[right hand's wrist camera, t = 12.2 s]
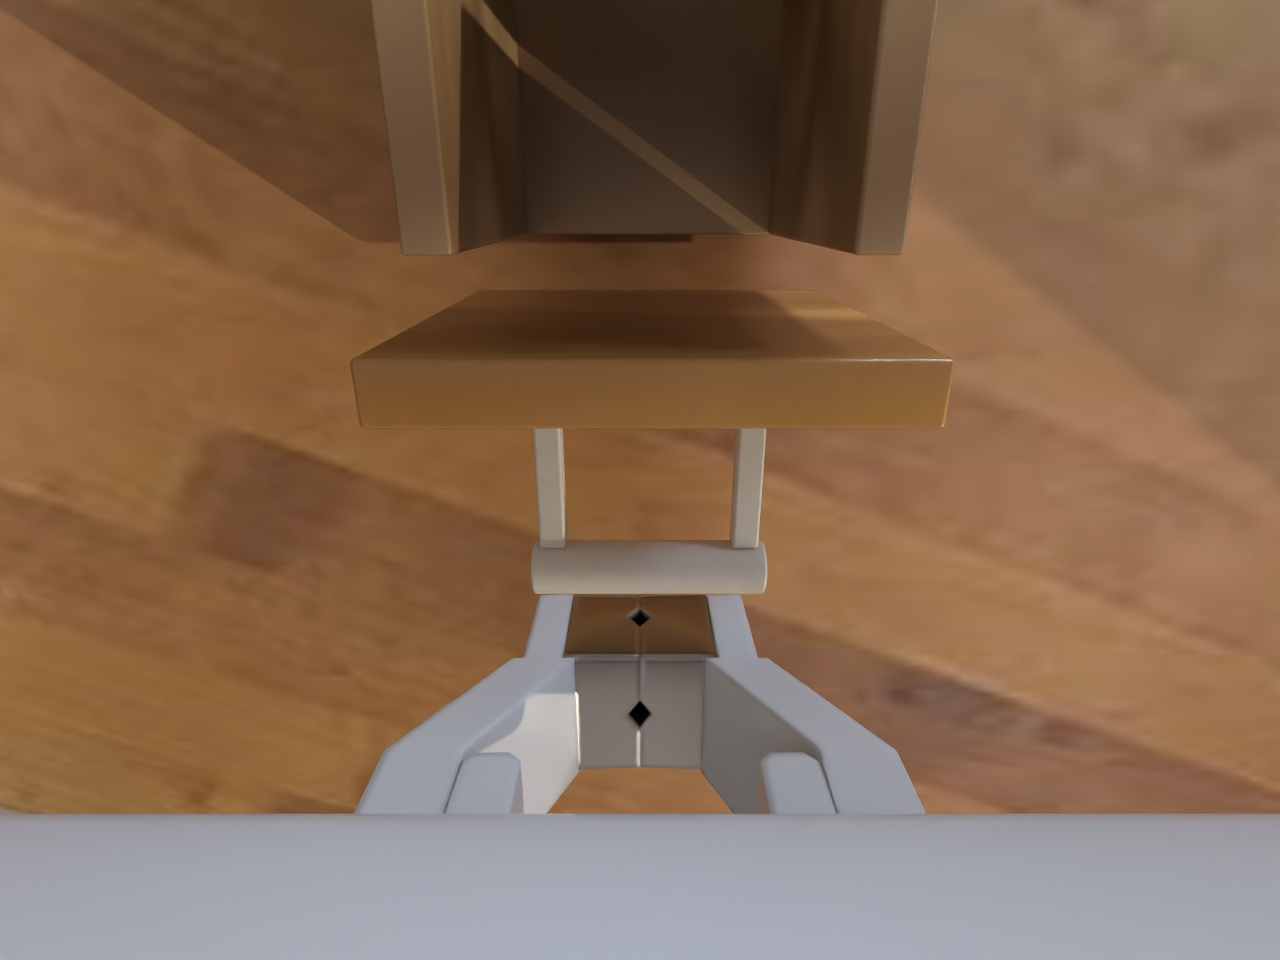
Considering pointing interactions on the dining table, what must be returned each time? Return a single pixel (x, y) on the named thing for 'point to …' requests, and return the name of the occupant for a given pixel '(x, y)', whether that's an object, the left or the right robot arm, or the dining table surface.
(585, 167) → the drawer
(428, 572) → the dining table surface
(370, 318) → the dining table surface
